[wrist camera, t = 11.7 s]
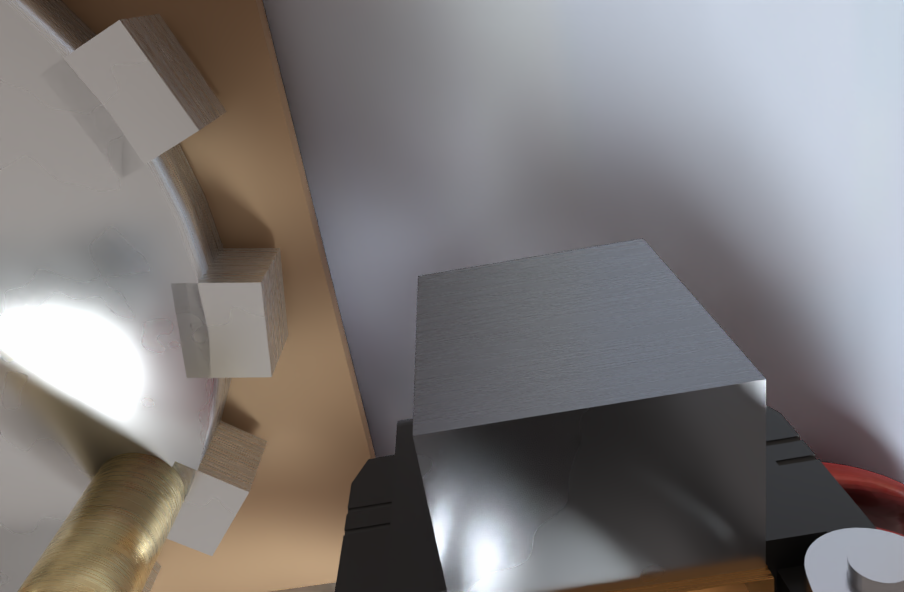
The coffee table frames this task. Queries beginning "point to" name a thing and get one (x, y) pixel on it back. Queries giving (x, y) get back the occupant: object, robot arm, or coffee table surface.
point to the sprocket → (116, 308)
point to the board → (307, 307)
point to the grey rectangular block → (587, 429)
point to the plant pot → (873, 495)
